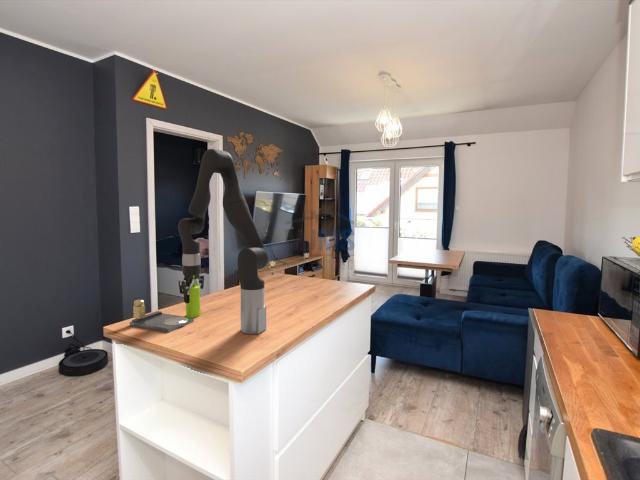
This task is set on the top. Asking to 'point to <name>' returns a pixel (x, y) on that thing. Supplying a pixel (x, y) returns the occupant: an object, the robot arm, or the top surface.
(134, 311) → the press lever
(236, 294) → the top surface
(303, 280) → the top surface
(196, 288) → the soap dispenser
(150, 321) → the plate
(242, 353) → the top surface
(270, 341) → the top surface
